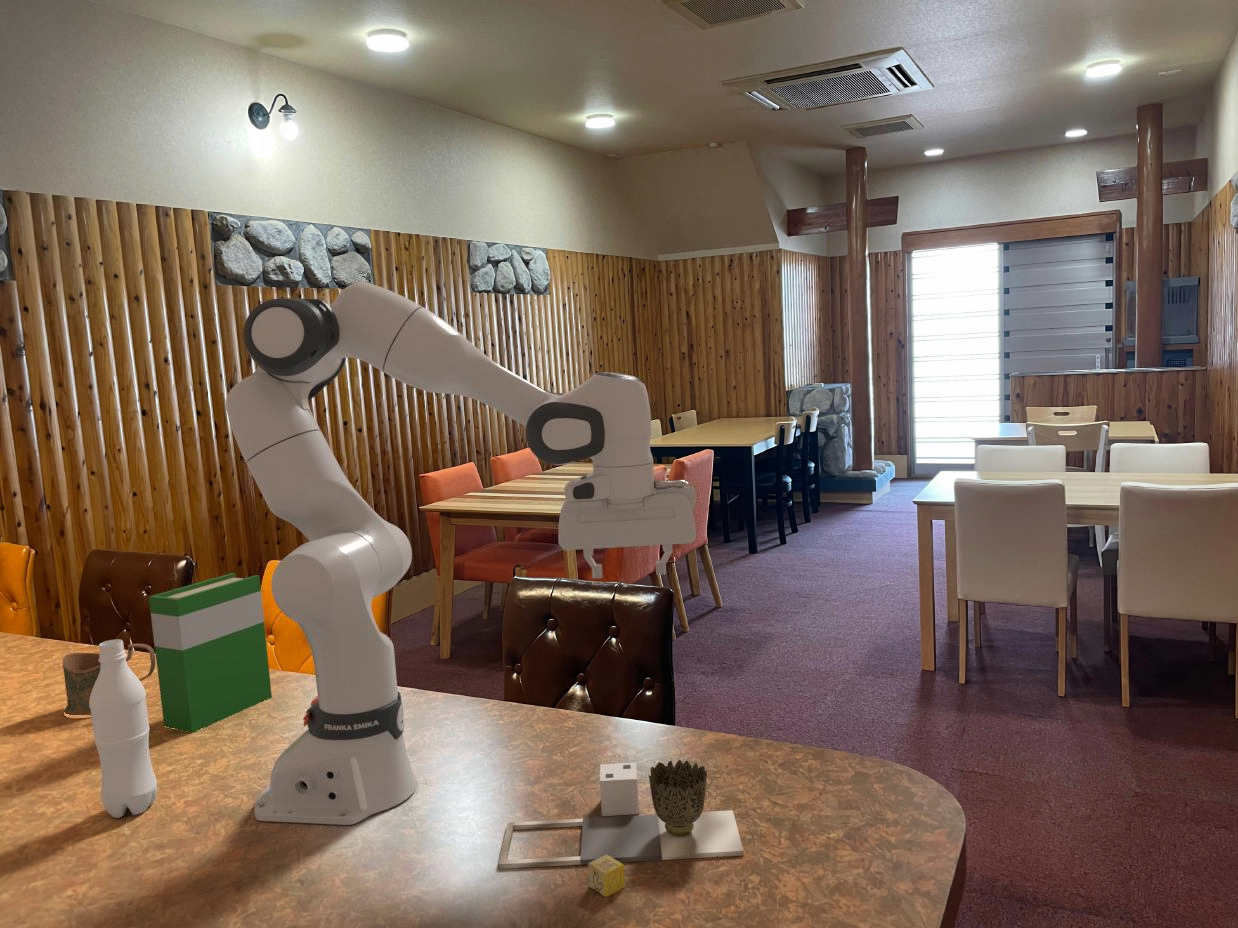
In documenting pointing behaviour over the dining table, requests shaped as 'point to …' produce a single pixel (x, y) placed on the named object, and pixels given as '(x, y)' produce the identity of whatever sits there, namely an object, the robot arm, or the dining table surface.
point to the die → (619, 789)
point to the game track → (636, 839)
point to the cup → (678, 795)
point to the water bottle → (121, 734)
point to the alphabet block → (606, 875)
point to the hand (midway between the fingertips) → (629, 575)
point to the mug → (88, 677)
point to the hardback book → (210, 650)
